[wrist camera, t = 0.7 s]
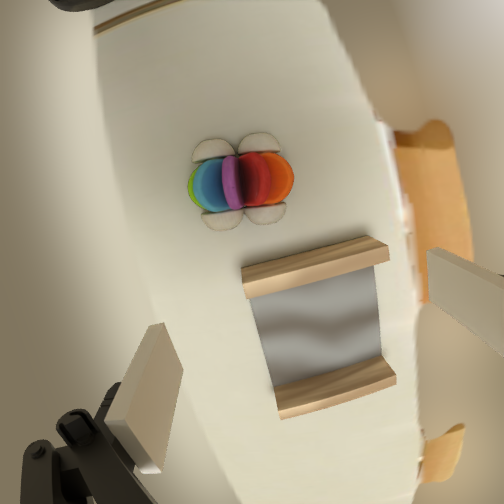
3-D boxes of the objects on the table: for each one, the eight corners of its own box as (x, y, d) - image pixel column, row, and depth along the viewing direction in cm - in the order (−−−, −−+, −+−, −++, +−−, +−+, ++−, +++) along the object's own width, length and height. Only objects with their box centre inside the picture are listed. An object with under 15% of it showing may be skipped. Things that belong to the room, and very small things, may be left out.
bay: (241, 268, 33) (242, 284, 28) (367, 235, 33) (388, 245, 28) (275, 393, 37) (280, 419, 32) (380, 362, 37) (396, 384, 32)
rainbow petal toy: (292, 217, 32) (308, 228, 25) (197, 229, 32) (187, 245, 25) (282, 134, 30) (296, 122, 23) (185, 146, 30) (171, 138, 23)
